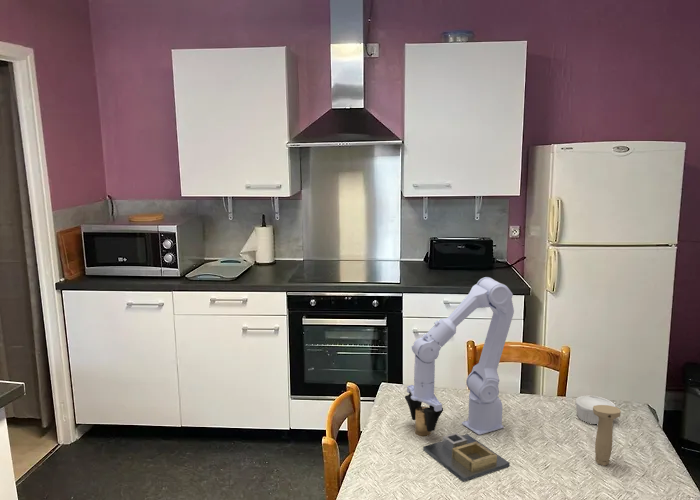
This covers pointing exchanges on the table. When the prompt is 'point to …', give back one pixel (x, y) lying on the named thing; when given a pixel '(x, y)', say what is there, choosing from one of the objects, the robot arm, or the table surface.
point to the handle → (604, 432)
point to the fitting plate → (465, 456)
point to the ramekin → (590, 407)
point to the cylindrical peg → (421, 422)
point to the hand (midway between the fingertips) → (423, 424)
